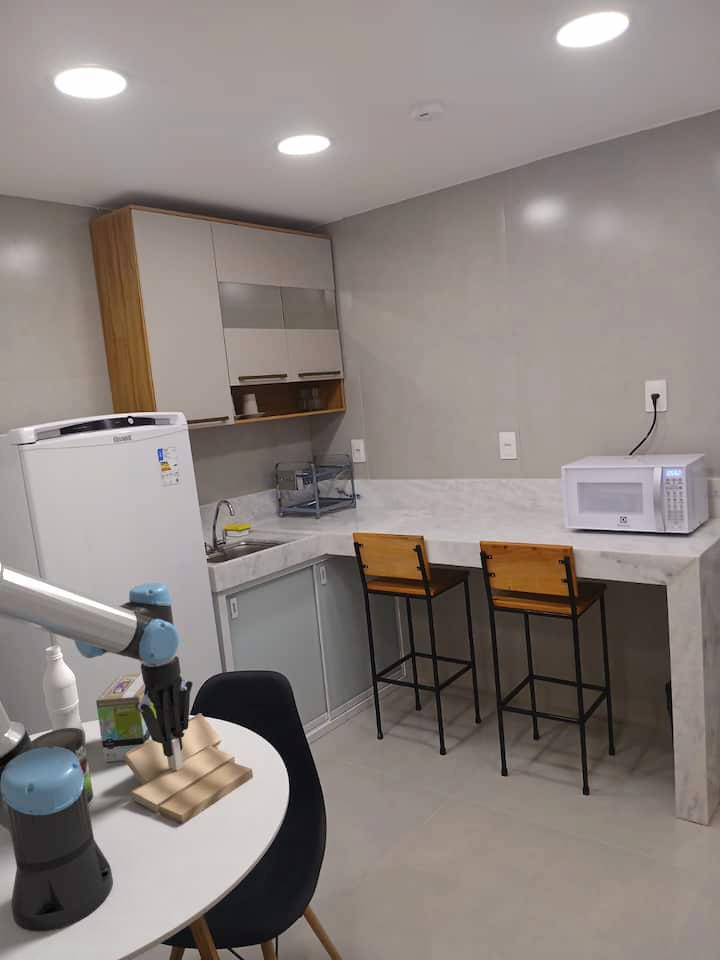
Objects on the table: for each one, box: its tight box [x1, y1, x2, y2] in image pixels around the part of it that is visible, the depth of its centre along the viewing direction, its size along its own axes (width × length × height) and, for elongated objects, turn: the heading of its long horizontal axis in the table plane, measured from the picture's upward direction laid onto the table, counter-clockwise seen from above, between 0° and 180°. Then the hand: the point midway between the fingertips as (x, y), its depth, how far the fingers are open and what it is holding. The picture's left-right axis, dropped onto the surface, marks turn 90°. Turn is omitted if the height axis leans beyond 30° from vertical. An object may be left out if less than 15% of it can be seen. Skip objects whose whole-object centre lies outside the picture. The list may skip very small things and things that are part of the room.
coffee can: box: [31, 728, 95, 807], centre depth 147 cm, size 10×10×14 cm
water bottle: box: [41, 645, 87, 744], centre depth 171 cm, size 7×7×25 cm
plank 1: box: [123, 712, 222, 785], centre depth 159 cm, size 20×8×2 cm
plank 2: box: [131, 745, 236, 814], centre depth 151 cm, size 20×8×2 cm, turn 142°
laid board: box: [158, 761, 254, 825], centre depth 145 cm, size 18×7×2 cm, turn 142°
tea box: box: [95, 672, 157, 763], centre depth 170 cm, size 15×10×15 cm
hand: (175, 767), depth 153 cm, fingers closed
